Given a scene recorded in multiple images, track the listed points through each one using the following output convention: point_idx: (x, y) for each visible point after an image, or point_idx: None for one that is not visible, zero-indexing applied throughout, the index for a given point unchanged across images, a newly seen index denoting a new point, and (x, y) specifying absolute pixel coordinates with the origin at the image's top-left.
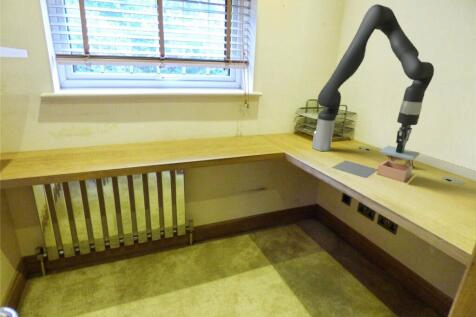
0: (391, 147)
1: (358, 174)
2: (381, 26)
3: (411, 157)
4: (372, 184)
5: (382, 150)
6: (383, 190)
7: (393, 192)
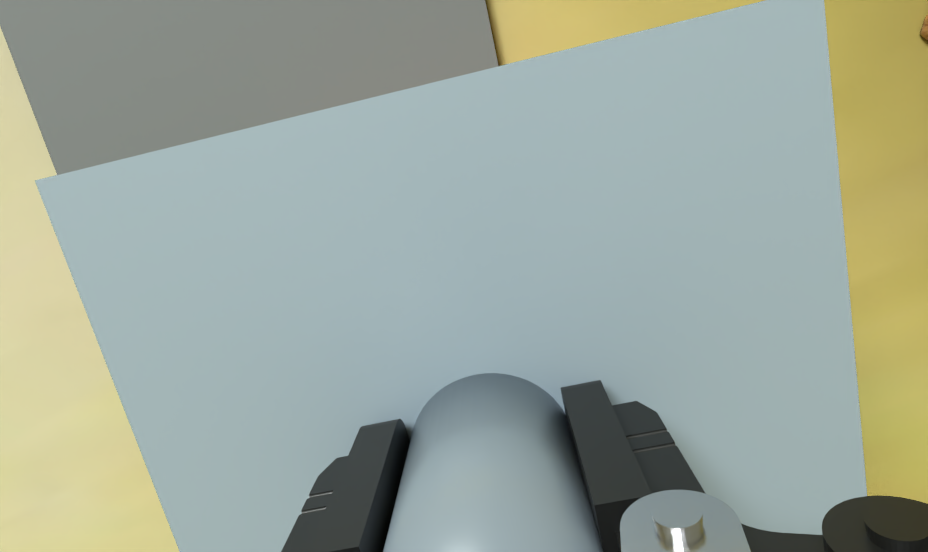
0: (700, 144)
1: (61, 59)
2: None
3: None
4: (27, 304)
5: (156, 199)
6: (17, 435)
7: (75, 500)
